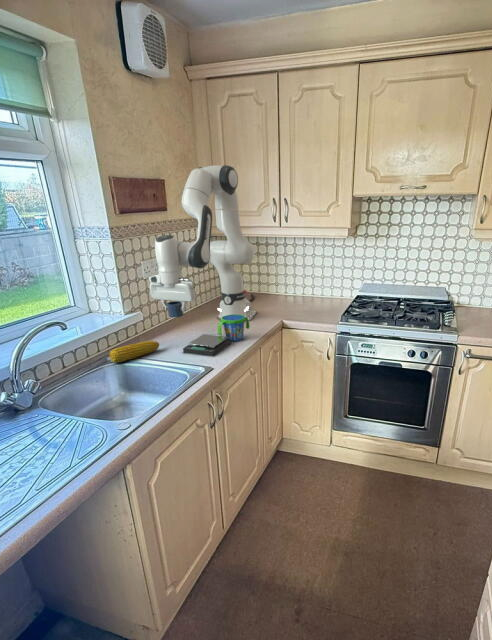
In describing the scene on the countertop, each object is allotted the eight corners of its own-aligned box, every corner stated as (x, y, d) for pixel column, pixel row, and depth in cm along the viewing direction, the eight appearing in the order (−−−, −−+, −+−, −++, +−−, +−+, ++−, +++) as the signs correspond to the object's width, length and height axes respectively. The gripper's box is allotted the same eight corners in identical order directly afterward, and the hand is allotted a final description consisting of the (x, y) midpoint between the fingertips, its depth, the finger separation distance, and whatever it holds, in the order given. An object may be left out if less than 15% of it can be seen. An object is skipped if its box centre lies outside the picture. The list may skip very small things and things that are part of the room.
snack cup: (244, 332, 192) (242, 311, 188) (255, 338, 184) (254, 316, 180) (214, 339, 184) (211, 317, 180) (224, 345, 176) (222, 323, 172)
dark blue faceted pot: (174, 312, 178) (172, 300, 176) (186, 313, 176) (184, 301, 174) (165, 316, 173) (163, 304, 170) (178, 318, 171) (176, 305, 168)
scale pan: (203, 335, 181) (203, 334, 181) (227, 338, 177) (227, 336, 177) (187, 345, 170) (187, 343, 170) (213, 348, 166) (213, 346, 166)
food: (116, 366, 157) (113, 351, 155) (109, 363, 160) (106, 348, 158) (162, 350, 172) (160, 337, 169) (155, 348, 175) (152, 334, 173)
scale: (203, 340, 183) (202, 334, 182) (231, 343, 179) (230, 337, 178) (183, 352, 169) (182, 346, 168) (213, 356, 165) (212, 349, 164)
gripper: (196, 277, 167) (200, 310, 173) (154, 275, 173) (159, 306, 179) (188, 280, 161) (192, 314, 167) (145, 277, 168) (151, 310, 174)
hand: (175, 310), depth 173 cm, fingers closed on dark blue faceted pot, 6 cm apart
